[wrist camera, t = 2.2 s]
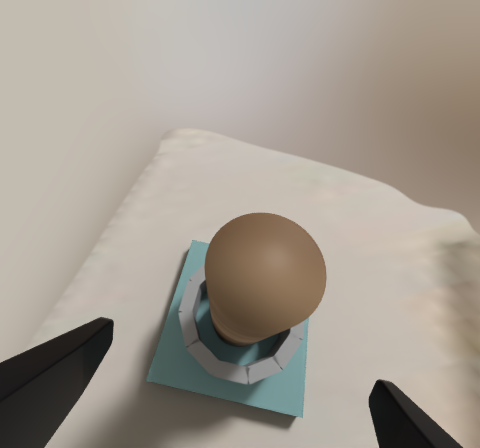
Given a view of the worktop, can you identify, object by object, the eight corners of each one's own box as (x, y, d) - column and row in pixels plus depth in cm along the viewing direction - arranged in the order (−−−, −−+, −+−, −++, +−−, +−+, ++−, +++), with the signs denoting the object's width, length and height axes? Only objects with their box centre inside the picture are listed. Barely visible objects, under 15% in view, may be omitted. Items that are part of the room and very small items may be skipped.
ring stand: (298, 414, 16) (320, 430, 12) (149, 379, 16) (131, 385, 13) (307, 269, 21) (325, 252, 17) (193, 244, 21) (188, 222, 18)
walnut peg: (262, 352, 17) (324, 345, 7) (205, 339, 17) (188, 314, 7) (270, 294, 18) (327, 225, 9) (219, 282, 19) (220, 202, 9)
